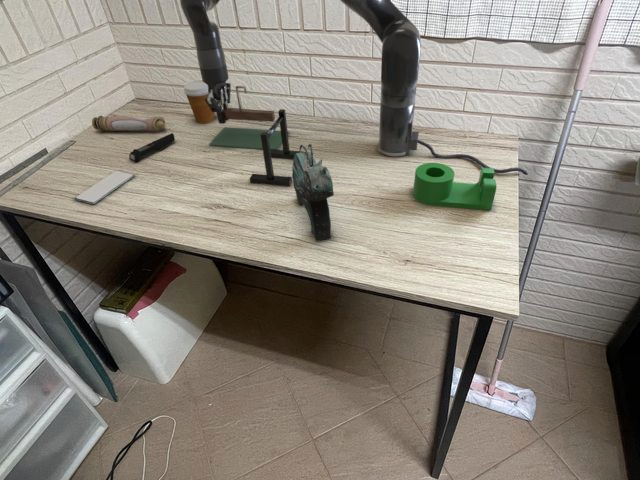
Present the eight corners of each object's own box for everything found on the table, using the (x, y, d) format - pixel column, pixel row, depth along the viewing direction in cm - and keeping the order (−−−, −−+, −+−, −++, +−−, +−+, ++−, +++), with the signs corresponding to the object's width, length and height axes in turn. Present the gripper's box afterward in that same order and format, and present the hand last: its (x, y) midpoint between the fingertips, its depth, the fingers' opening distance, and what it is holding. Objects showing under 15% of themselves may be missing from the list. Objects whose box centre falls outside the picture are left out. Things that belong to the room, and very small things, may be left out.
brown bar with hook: (275, 119, 128) (271, 86, 122) (273, 121, 127) (268, 88, 120) (220, 116, 132) (213, 83, 125) (217, 118, 130) (210, 86, 124)
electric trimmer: (179, 143, 134) (176, 134, 132) (136, 163, 125) (132, 153, 123) (171, 140, 136) (169, 131, 134) (129, 160, 127) (125, 150, 125)
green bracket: (412, 203, 102) (414, 180, 98) (413, 183, 109) (416, 161, 105) (490, 210, 99) (496, 186, 95) (487, 189, 106) (493, 166, 102)
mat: (288, 133, 136) (288, 131, 135) (277, 150, 127) (276, 149, 126) (225, 128, 140) (224, 127, 140) (209, 145, 131) (209, 144, 131)
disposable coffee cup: (186, 123, 145) (176, 88, 137) (201, 112, 152) (193, 78, 144) (209, 127, 142) (201, 91, 134) (224, 115, 149) (217, 81, 141)
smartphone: (73, 198, 111) (115, 170, 121) (74, 199, 111) (116, 171, 122) (93, 203, 109) (134, 174, 119) (93, 205, 109) (135, 175, 119)
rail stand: (270, 153, 126) (264, 107, 117) (306, 156, 123) (302, 109, 114) (250, 183, 114) (241, 134, 105) (289, 186, 111) (284, 137, 102)
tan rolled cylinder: (103, 126, 146) (97, 112, 143) (171, 127, 143) (167, 113, 140) (94, 133, 142) (88, 119, 139) (164, 134, 139) (160, 120, 136)
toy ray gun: (338, 242, 93) (335, 160, 80) (309, 248, 92) (302, 167, 79) (313, 194, 108) (307, 119, 95) (288, 199, 107) (279, 124, 94)
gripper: (214, 72, 115) (226, 132, 126) (234, 56, 125) (243, 113, 136) (189, 71, 116) (203, 130, 127) (210, 55, 126) (222, 111, 137)
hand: (224, 121), depth 132 cm, fingers closed on brown bar with hook, 2 cm apart
